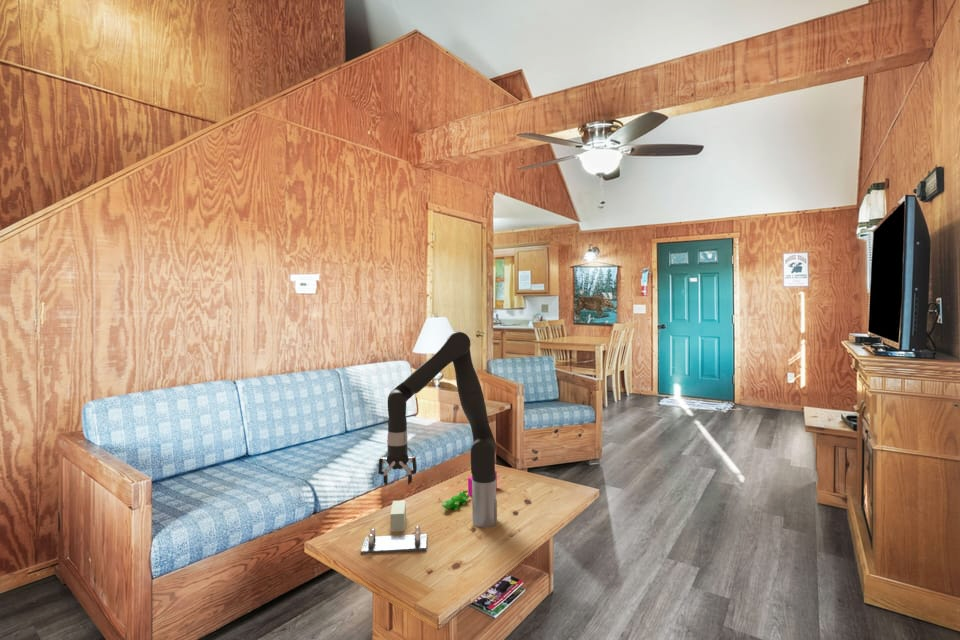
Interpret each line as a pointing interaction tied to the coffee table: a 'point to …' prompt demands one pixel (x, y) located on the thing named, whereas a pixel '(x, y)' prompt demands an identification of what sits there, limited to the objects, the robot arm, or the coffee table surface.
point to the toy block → (471, 484)
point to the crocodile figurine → (456, 501)
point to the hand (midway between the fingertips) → (397, 484)
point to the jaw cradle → (394, 543)
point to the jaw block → (398, 516)
